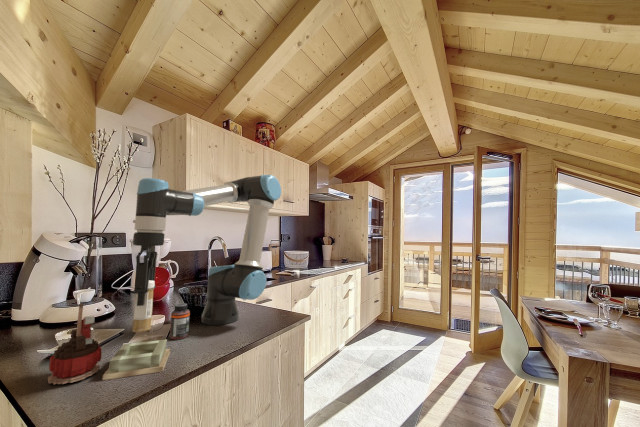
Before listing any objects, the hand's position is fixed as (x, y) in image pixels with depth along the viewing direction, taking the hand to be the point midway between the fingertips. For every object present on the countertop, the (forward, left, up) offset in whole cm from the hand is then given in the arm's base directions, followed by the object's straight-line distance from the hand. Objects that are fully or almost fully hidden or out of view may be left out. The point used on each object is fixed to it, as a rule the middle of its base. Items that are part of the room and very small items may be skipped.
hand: (142, 314), depth 74 cm
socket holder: (0, 0, -14) cm, 14 cm away
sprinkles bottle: (0, 0, -4) cm, 4 cm away
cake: (+14, +1, -14) cm, 19 cm away
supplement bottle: (-8, -19, -14) cm, 25 cm away
